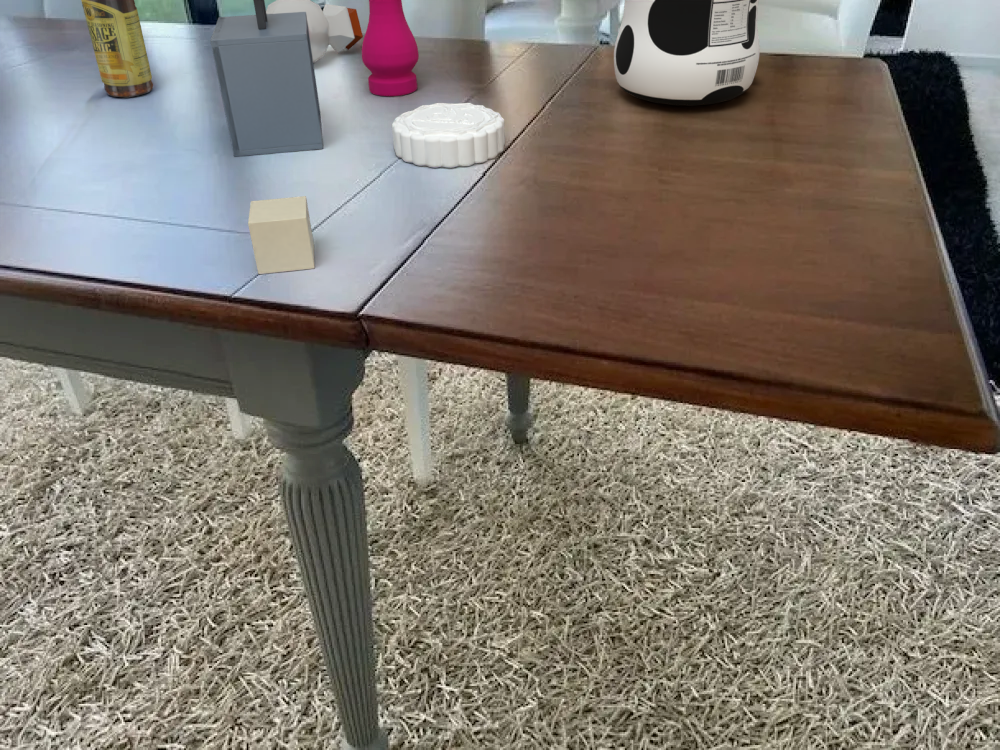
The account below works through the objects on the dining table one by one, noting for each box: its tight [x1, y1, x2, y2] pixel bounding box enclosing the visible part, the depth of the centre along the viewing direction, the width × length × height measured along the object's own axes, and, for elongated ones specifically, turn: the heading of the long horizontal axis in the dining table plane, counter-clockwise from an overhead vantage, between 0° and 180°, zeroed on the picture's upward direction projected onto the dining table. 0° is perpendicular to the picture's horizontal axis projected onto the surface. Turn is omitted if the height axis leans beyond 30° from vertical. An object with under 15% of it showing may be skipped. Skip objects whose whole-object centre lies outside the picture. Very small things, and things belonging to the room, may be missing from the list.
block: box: [247, 195, 316, 275], centre depth 70 cm, size 4×4×4 cm
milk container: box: [613, 0, 761, 107], centre depth 101 cm, size 17×17×18 cm
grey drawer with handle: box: [209, 0, 324, 157], centre depth 92 cm, size 17×11×10 cm
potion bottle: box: [266, 0, 364, 64], centre depth 122 cm, size 9×10×15 cm
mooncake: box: [391, 102, 506, 169], centre depth 91 cm, size 12×12×4 cm
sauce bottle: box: [80, 0, 154, 99], centre depth 107 cm, size 7×6×20 cm
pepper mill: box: [361, 0, 420, 97], centre depth 106 cm, size 7×7×20 cm
